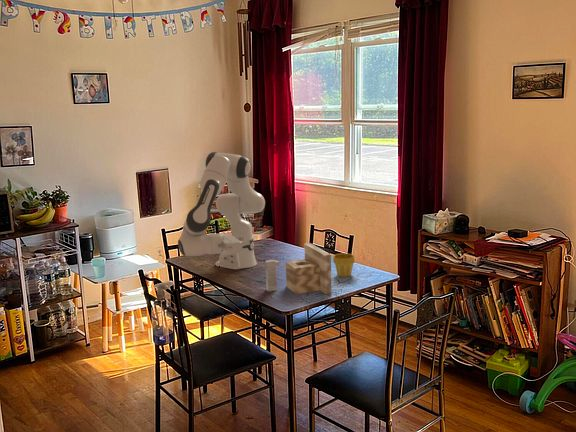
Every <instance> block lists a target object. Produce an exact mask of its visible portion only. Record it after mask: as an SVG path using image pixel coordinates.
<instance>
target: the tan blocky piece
mask: <svg viewBox="0 0 576 432" xmlns="http://www.w3.org/2000/svg"><path fill="white" fill-rule="evenodd" d="M303 245H304V259H299V260H298V259H297V260H292V261H290V260H289V261H285V274H286V275H285V277H286V278H285V279H286V280H285V281H286V287H287V288H288V289H289V290H290V291H291V292H292V293H294V294H295V295H299V294H306V293H312V292H318V291H320V292H322V293H323V294H324V295H329V294H332V293H333V292H332V291H333V290H332V287H333V286H332V254H330V253H329V252H327V251H325V250H323V249H322V248H320V247H318V246H316V245H314V244H313V243H311V242H309V243H304V244H303Z"/></svg>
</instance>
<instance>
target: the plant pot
mask: <svg viewBox="0 0 576 432" xmlns="http://www.w3.org/2000/svg"><path fill="white" fill-rule="evenodd" d="M333 264H334V265H335V269H336V270H335V271H336V275H337V276H338V277H341V278H344V277H345V278H346V277H351V275H352V271H353V267H354V264H355V255H354V254H352V253H344V252H343V253H337V254H335V255H333Z"/></svg>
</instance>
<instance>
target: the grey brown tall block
mask: <svg viewBox="0 0 576 432" xmlns="http://www.w3.org/2000/svg"><path fill="white" fill-rule="evenodd" d="M264 267H265V268H264V269H265V290H266V291H267V292H276V291H277V267H280V261H279V260H276V259H269V260H267V259H266V260H264Z"/></svg>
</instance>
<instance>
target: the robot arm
mask: <svg viewBox="0 0 576 432" xmlns="http://www.w3.org/2000/svg"><path fill="white" fill-rule="evenodd" d="M251 166H252V165H251V161H250V160H249V158H247V157H245V156H244V155H240V154H235V153H228V152H218V151H212V152H210V153H209V154H208V155H207V157H206V158H205V170H204V172H203V174H202V177H201V180H200V185H199V187H200V189H201V193H200V196H199V199H198V201H197V203H196V204H195V206H194V207H193V208H192V209H190V211H189V212H187V215H186V219H185V221H184V223H183V226H182V232H181V235H180V236H179V239H178V240H177V246H178V250H179V252H180V253H181V255H182V256H184V257H199V256H205V255H215V254H216V255H218V254H219V258H218V261H216V262H215V264H214V266H215V265H216V266H215V267H219V266H220V268H225V269H231V270H241V269H248V268H252V267H255V266H257V264H258V263H257V259H256V257H255V251H254V248H255V247H254V246H255V245H254V238H253V237H254V236H253V225H252V223H251V222H249V221H248V220H245V219H244V218H242V216H241V215H245V214H246V215H249V214H257V213H261V212H263V211H264V209H265V206H266V200H265V198H264V196H263V195H262V194H261V193H259V192H257V191H256V190H255V189H253V187H252V186H251V183H250V179H249V175H250V172H251V168H252V167H251ZM225 185H227V189H228V190H229V191H230V192H231V193H224V194H221V193H222V191H223V189H224V188H225ZM218 195H219V196H218ZM217 196H218V197H217ZM216 197H217V199H216ZM215 199H216V201H215ZM214 202H215V207H216V210H217V211H218V212H219V213H220V214H222V215H223V216H224V218H225V219H226V220H227V221H228V223H229V225H230V232H231V234H230V233H220V232H219V233H216V232H215V233H214V232H213V233H209V234H208V233H206V230H207V229H208V228H209V226H210V224H211V221H212V219H211V217H212V216H211V210H212V208H213V205H214Z"/></svg>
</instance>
